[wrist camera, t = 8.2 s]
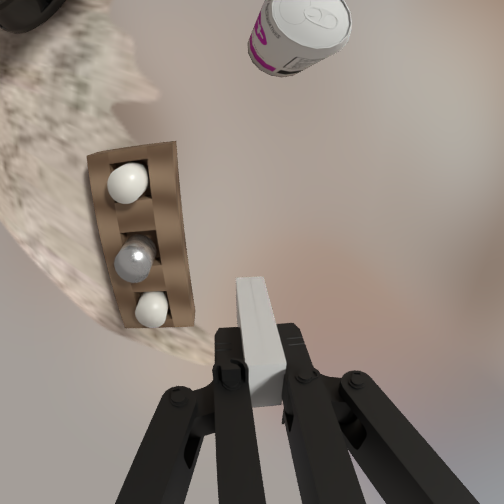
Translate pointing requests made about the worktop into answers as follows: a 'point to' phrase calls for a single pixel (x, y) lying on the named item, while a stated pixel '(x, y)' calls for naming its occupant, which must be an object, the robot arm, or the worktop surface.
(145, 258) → the middle knob
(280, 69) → the supplement can
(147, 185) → the white round piece
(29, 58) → the worktop surface
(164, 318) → the outer button
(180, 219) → the button panel
